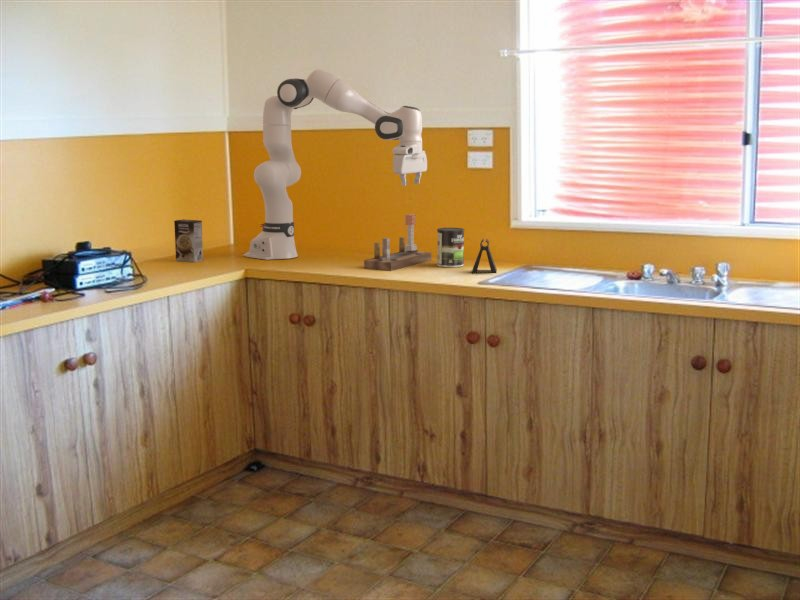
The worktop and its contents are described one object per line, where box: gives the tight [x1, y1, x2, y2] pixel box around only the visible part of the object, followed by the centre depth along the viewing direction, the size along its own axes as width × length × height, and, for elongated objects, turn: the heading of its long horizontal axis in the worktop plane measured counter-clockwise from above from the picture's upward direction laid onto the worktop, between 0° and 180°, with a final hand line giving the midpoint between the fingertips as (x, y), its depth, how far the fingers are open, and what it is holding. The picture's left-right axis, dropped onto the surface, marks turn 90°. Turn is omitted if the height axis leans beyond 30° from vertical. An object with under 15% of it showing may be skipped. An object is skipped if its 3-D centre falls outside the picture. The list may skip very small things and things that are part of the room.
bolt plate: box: [363, 236, 432, 272], centre depth 380 cm, size 12×30×11 cm, turn 148°
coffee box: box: [173, 218, 204, 263], centre depth 389 cm, size 9×6×16 cm
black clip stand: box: [471, 238, 498, 274], centre depth 360 cm, size 9×6×12 cm, turn 82°
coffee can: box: [436, 227, 465, 268], centre depth 375 cm, size 10×10×14 cm
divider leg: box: [404, 213, 418, 251], centre depth 386 cm, size 3×4×14 cm
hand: (410, 184), depth 382 cm, fingers open, 8 cm apart
